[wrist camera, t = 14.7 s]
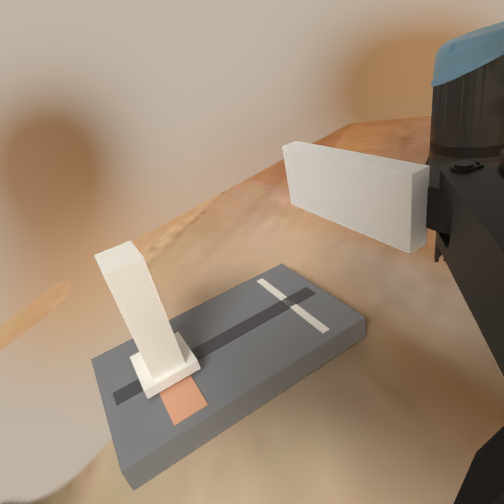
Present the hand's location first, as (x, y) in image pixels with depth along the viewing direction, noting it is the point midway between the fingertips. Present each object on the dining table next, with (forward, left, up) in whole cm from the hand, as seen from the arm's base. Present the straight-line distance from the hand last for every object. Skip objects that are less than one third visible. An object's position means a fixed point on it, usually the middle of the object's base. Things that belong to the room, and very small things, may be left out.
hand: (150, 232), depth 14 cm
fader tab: (+1, -14, -18) cm, 23 cm away
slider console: (-5, -14, -21) cm, 26 cm away
